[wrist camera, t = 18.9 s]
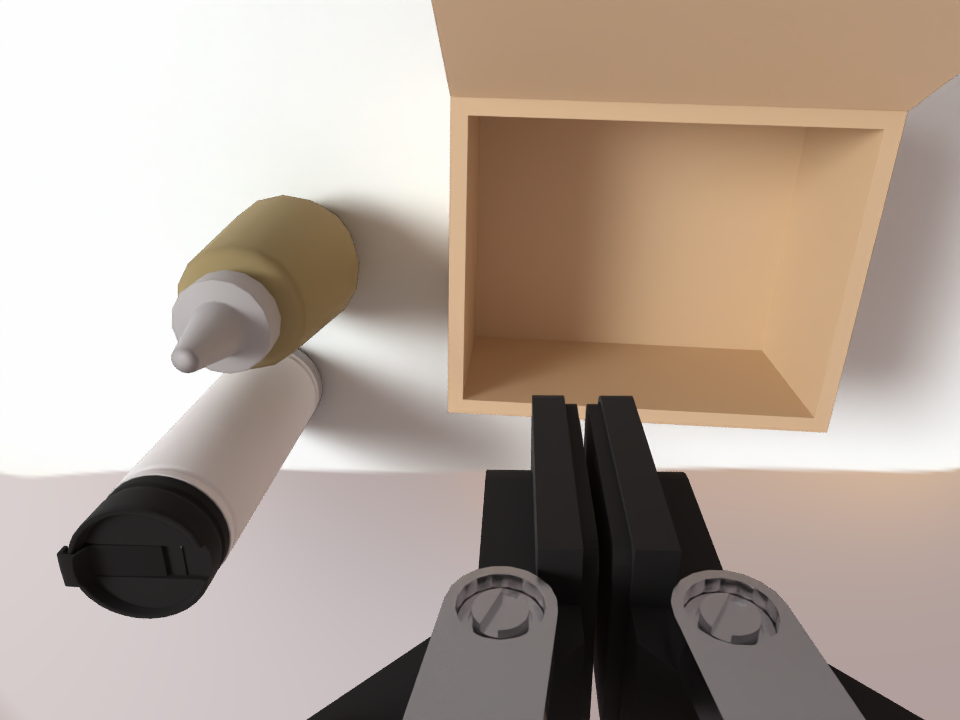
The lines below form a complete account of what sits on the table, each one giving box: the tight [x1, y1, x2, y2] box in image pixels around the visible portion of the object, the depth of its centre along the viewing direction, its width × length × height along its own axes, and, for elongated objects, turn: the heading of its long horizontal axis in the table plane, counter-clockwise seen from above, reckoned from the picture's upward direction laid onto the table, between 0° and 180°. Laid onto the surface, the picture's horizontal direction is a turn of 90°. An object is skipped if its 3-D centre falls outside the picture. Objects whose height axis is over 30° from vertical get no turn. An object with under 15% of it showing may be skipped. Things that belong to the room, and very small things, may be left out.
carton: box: [448, 96, 908, 433], centre depth 39 cm, size 16×20×10 cm
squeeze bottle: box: [171, 195, 359, 374], centre depth 37 cm, size 8×8×18 cm
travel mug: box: [57, 349, 322, 619], centre depth 41 cm, size 6×7×20 cm
